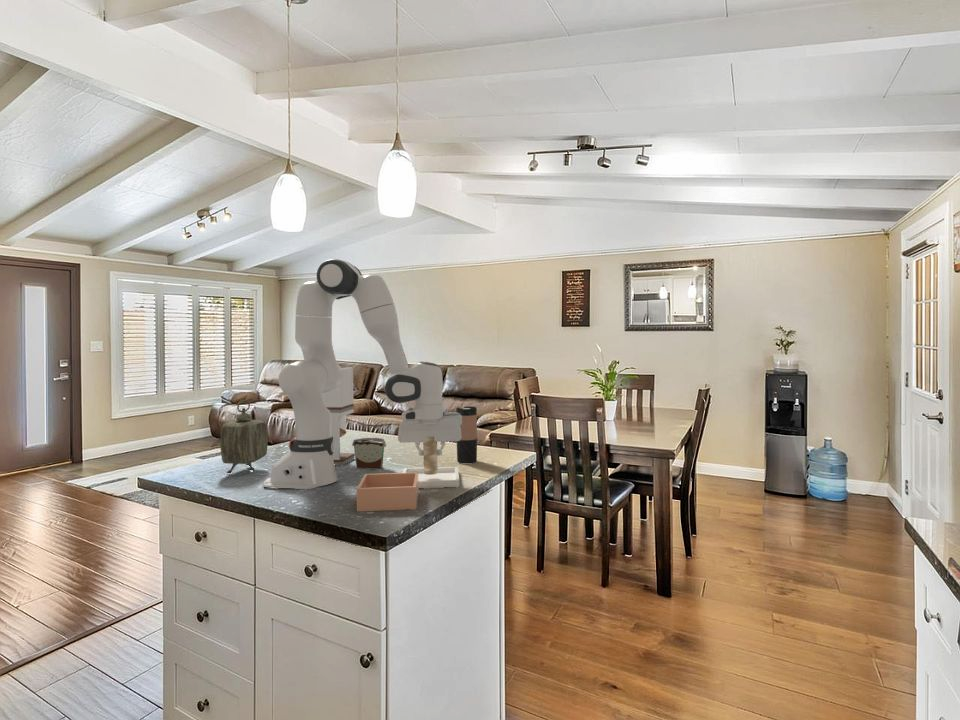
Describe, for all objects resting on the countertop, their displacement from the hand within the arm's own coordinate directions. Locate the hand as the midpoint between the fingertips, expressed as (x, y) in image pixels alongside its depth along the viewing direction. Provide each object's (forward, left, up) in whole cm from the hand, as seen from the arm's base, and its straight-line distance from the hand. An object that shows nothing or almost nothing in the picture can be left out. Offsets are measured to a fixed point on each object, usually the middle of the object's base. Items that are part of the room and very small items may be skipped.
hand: (430, 455), depth 171 cm
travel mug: (+13, +25, -8) cm, 29 cm away
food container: (-21, +21, -8) cm, 31 cm away
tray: (0, 0, -8) cm, 8 cm away
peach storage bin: (-11, -21, -8) cm, 25 cm away
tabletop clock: (-64, +19, -8) cm, 67 cm away
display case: (-36, +31, -8) cm, 48 cm away
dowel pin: (0, 0, -6) cm, 6 cm away
